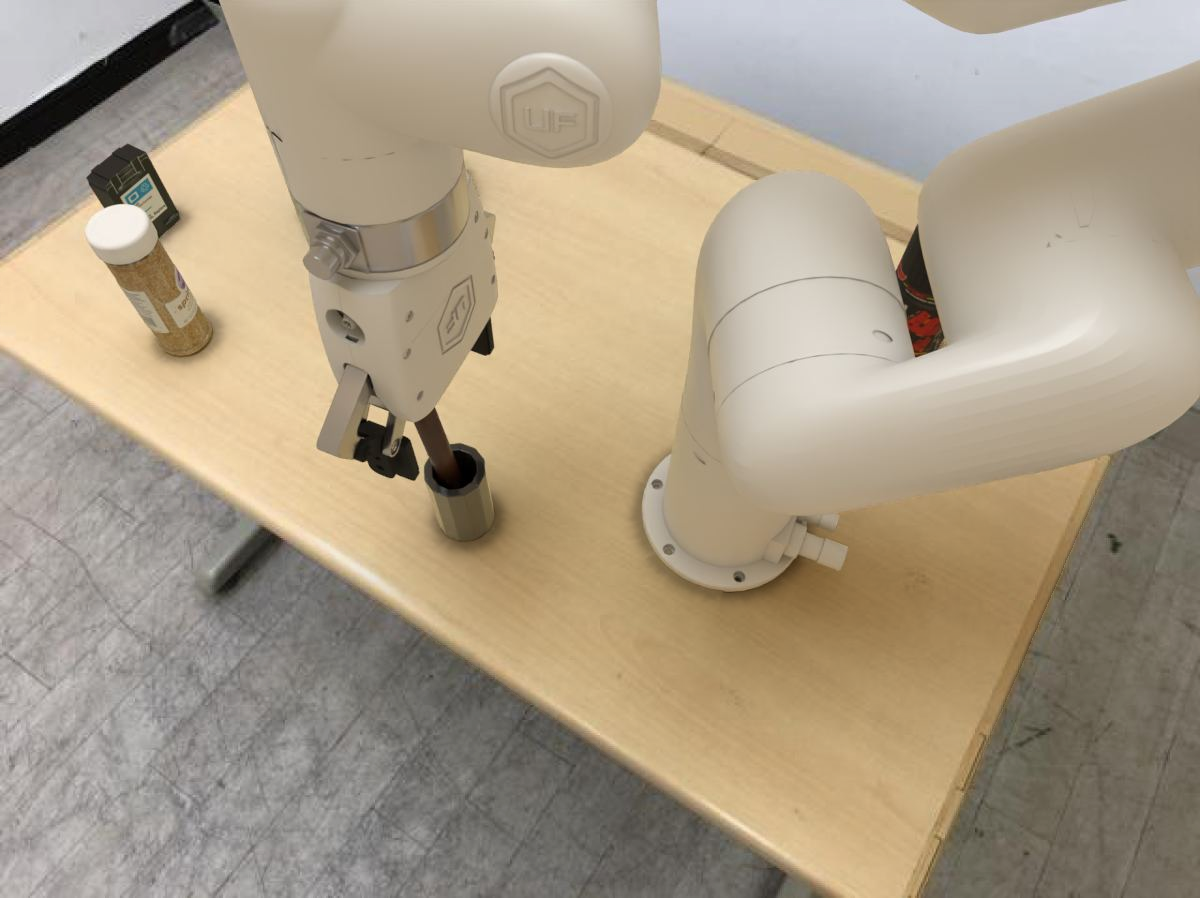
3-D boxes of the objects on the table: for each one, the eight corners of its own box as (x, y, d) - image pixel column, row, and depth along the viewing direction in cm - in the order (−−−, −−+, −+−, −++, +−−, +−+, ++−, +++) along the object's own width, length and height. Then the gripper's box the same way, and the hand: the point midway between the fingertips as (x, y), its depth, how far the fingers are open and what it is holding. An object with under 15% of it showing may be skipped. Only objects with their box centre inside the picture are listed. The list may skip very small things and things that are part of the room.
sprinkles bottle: (221, 342, 76) (156, 231, 64) (169, 366, 74) (93, 256, 63) (201, 307, 78) (135, 192, 66) (150, 329, 76) (73, 216, 65)
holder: (503, 506, 68) (495, 455, 62) (479, 552, 67) (467, 505, 60) (455, 487, 69) (441, 435, 62) (430, 532, 67) (412, 483, 60)
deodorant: (947, 342, 77) (1022, 218, 64) (910, 383, 75) (979, 263, 62) (891, 305, 79) (952, 177, 66) (852, 344, 77) (908, 219, 64)
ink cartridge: (144, 252, 81) (103, 185, 74) (125, 242, 81) (83, 175, 74) (182, 217, 83) (146, 150, 76) (163, 208, 83) (126, 140, 76)
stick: (480, 510, 68) (434, 391, 54) (470, 527, 67) (422, 411, 54) (461, 503, 68) (412, 384, 55) (452, 521, 67) (399, 404, 54)
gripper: (356, 370, 34) (420, 547, 49) (541, 99, 42) (548, 321, 57) (192, 308, 36) (303, 499, 50) (403, 56, 44) (445, 284, 58)
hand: (433, 404), depth 54 cm, fingers open, 9 cm apart
